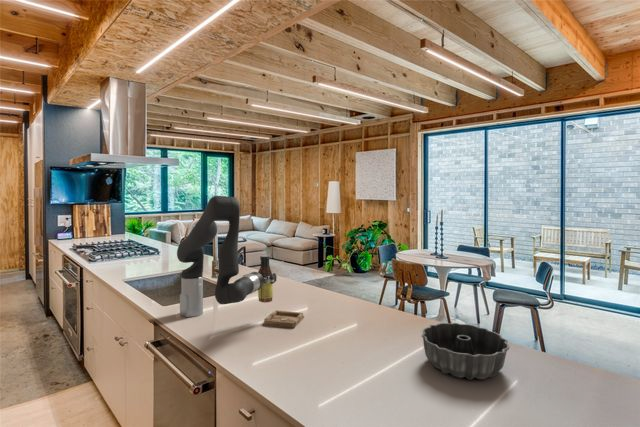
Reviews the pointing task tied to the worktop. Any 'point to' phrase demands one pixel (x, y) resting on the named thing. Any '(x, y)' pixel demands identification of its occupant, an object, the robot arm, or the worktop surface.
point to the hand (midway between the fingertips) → (267, 274)
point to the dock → (283, 319)
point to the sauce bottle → (267, 289)
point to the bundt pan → (465, 350)
